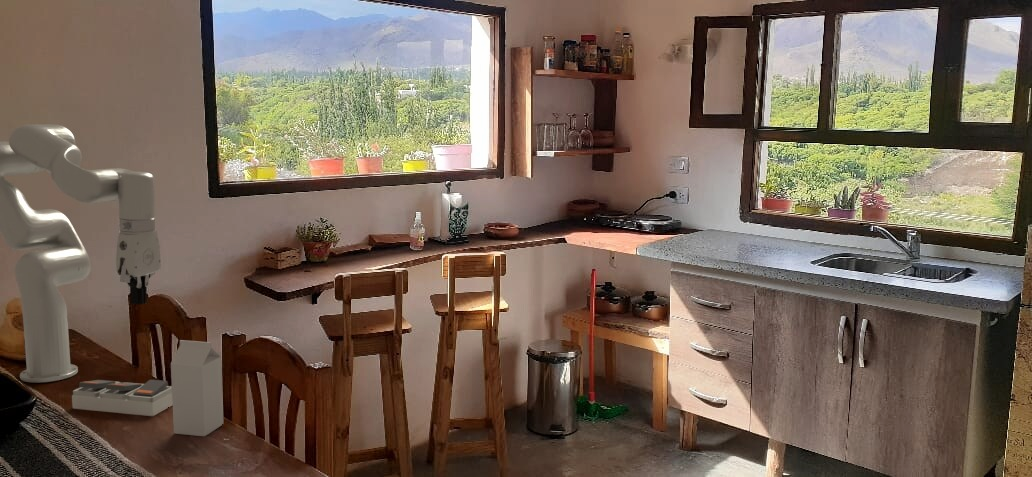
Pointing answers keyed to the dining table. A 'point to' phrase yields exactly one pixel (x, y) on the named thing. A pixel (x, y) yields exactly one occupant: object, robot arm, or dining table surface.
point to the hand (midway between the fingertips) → (138, 303)
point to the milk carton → (196, 389)
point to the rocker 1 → (95, 384)
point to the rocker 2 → (123, 386)
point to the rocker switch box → (121, 400)
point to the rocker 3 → (151, 388)
